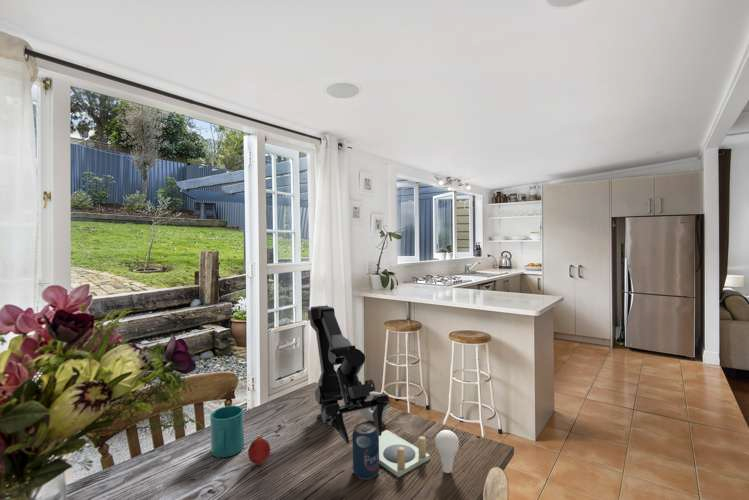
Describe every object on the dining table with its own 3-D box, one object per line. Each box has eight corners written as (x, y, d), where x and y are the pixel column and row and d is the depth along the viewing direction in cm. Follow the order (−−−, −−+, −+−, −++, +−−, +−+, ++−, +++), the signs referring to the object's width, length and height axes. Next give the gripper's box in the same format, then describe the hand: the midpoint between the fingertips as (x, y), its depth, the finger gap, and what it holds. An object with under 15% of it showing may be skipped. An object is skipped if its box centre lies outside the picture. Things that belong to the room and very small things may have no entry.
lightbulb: (454, 483, 93) (454, 439, 93) (431, 475, 96) (431, 433, 96) (462, 470, 98) (462, 429, 98) (440, 462, 101) (440, 423, 101)
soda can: (370, 484, 93) (369, 437, 93) (347, 475, 97) (346, 430, 96) (384, 469, 99) (383, 425, 98) (362, 461, 103) (361, 418, 102)
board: (356, 447, 109) (356, 427, 109) (387, 433, 117) (386, 414, 117) (398, 477, 96) (397, 453, 95) (429, 459, 103) (429, 437, 103)
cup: (203, 466, 102) (202, 426, 101) (216, 442, 113) (215, 406, 113) (238, 463, 103) (236, 423, 102) (247, 440, 115) (246, 404, 114)
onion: (250, 473, 98) (249, 443, 98) (247, 462, 103) (246, 433, 103) (272, 467, 101) (271, 438, 101) (268, 456, 106) (267, 428, 106)
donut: (359, 424, 123) (358, 394, 123) (359, 419, 127) (358, 390, 126) (389, 423, 124) (388, 393, 124) (388, 418, 127) (387, 389, 127)
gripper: (323, 375, 99) (336, 436, 89) (386, 365, 106) (405, 419, 97) (316, 394, 106) (328, 451, 97) (376, 383, 114) (392, 435, 104)
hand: (364, 439), depth 98 cm, fingers open, 9 cm apart
